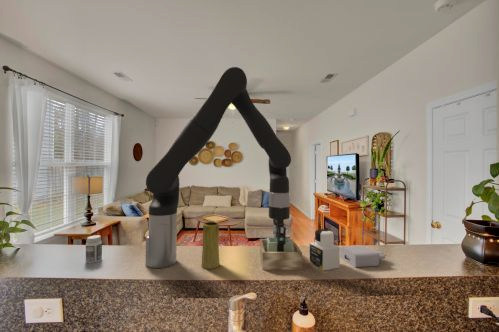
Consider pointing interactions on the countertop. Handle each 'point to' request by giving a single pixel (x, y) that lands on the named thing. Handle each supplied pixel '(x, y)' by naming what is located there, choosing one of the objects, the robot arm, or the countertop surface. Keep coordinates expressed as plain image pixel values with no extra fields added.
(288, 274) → the countertop surface
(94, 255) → the pill bottle
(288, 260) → the crate large
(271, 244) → the crate small
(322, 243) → the medicine bottle
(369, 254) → the charger
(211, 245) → the vase
